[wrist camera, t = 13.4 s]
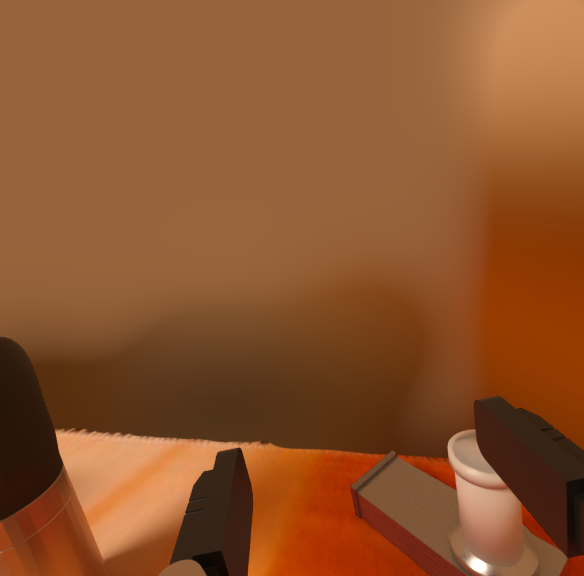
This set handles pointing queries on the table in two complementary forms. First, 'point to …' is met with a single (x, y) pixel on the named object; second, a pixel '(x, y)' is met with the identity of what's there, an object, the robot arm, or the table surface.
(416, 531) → the grey soap dish block
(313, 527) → the table surface
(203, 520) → the robot arm
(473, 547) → the white flanged cylinder
